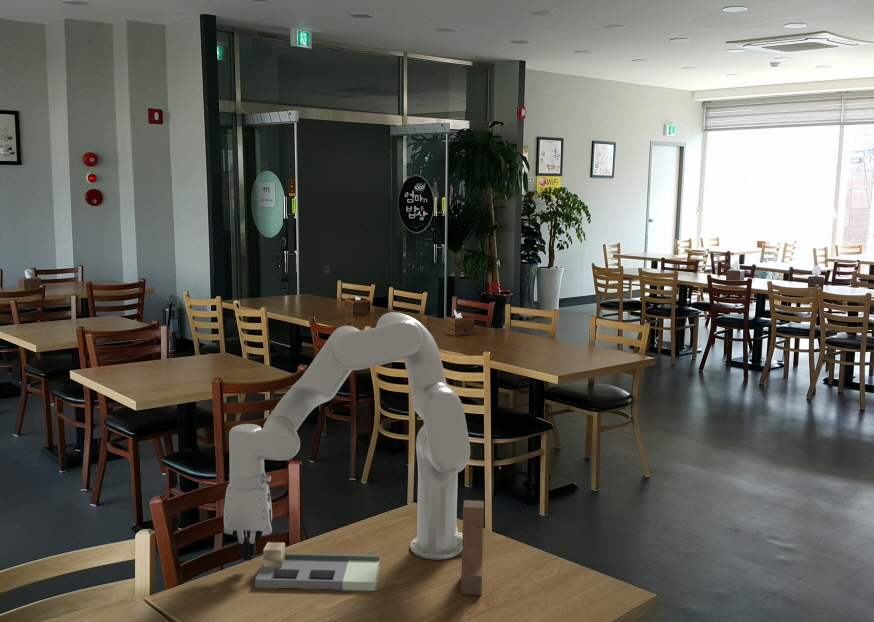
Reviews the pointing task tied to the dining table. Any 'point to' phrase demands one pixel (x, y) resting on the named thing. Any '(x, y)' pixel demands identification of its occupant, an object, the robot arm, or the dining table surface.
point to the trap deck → (322, 572)
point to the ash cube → (274, 554)
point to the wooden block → (472, 547)
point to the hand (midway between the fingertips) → (248, 557)
